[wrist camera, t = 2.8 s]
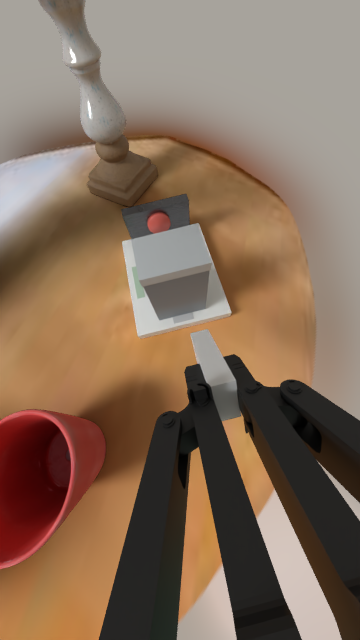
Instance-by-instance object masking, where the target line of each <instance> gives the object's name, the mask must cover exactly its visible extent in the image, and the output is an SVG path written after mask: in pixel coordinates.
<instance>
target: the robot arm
mask: <svg viewBox="0 0 360 640" xmlns="http://www.w3.org/2000/svg"><path fill="white" fill-rule="evenodd" d="M190 334H191V339H192V343H193V347H194V351H195V356H196V360H197V363H198V364H196V365H192V366H188V367H186V369H185V372H184V373H185V378H186V383H187V388H188V390H187V394H188V398H189V404H188V406H187V407H186V408H185V409H184V410H182V411H181V412H179V413H176V412H175V411H168V412H165V413H163V414H161V415H160V416H159V418H158V419H157V421H156V425H155V428H154V432H153V436H152V440H151V444H150V447H149V451H148V455H147V459H146V463H145V466H144V470H143V474H142V478H141V481H140V485H139V489H138V493H137V497H136V500H135V504H134V508H133V512H132V516H131V519H130V523H129V527H128V531H127V535H126V538H125V542H124V546H123V550H122V554H121V557H120V561H119V565H118V569H117V572H116V576H115V580H114V584H113V588H112V591H111V595H110V599H109V603H108V607H107V610H106V614H105V618H104V622H103V626H102V629H101V633H100V637H99V640H177V627H178V614H179V601H180V588H181V575H182V562H183V549H184V535H185V522H186V509H187V496H188V483H189V470H190V457H191V452H192V451H193V450H195V449H196V448H198V447H199V449H200V454H201V459H202V464H203V469H204V474H205V479H206V484H207V489H208V494H209V499H210V504H211V508H212V513H213V518H214V523H215V528H216V533H217V538H218V543H219V548H220V553H221V558H222V563H223V567H224V572H225V577H226V582H227V587H228V592H229V596H230V602H231V607H232V612H233V618H234V624H235V631H236V636H237V640H302V639H301V637H300V634H299V631H298V629H297V626H296V624H295V621H294V619H293V616H292V614H291V612H290V610H289V608H288V606H287V603H286V601H285V599H284V596H283V593H282V591H281V588H280V585H279V582H278V579H277V576H276V574H275V571H274V568H273V565H272V562H271V560H270V557H269V554H268V551H267V548H266V546H265V543H264V540H263V537H262V534H261V532H260V528H259V526H258V523H257V520H256V517H255V514H254V512H253V509H252V506H251V503H250V500H249V497H248V495H247V492H246V489H245V486H244V483H243V480H242V478H241V475H240V472H239V469H238V466H237V464H236V461H235V458H234V455H233V452H232V449H231V447H230V444H229V441H228V438H227V435H226V433H225V430H224V427H223V424H222V421H224V420H228V419H232V418H236V417H240V416H241V413H242V415H243V417H244V424H245V431H246V433H248V432H249V434H250V437H251V439H252V441H253V443H254V445H255V447H256V449H257V452H258V454H259V456H260V458H261V460H262V462H263V464H264V467H265V469H266V471H267V473H268V475H269V477H270V479H271V482H272V484H273V486H274V488H275V490H276V492H277V494H278V497H279V499H280V501H281V503H282V505H283V507H284V509H285V512H286V514H287V516H288V518H289V520H290V522H291V524H292V527H293V529H294V531H295V533H296V535H297V537H298V539H299V541H300V544H301V546H302V548H303V550H304V552H305V554H306V557H307V559H308V561H309V563H310V565H311V567H312V569H313V572H314V574H315V576H316V578H317V580H318V582H319V585H320V587H321V589H322V591H323V593H324V595H325V597H326V600H327V602H328V604H329V606H330V608H331V610H332V613H333V615H334V617H335V620H336V622H337V625H338V628H339V632H340V635H341V638H342V640H360V521H359V519H358V518H357V516H356V515H355V514H354V512H353V511H352V509H351V508H350V507H349V505H348V504H347V502H346V501H345V500H344V498H343V497H342V495H341V494H340V493H339V491H338V490H337V488H336V487H335V486H334V484H333V483H332V481H331V480H330V479H329V477H328V476H327V474H326V473H325V472H324V470H323V469H322V467H321V466H320V465H319V464H318V462H319V463H320V464H321V465H322V466H323V467H324V468H325V469H326V470H327V471H328V472H329V473H330V474H331V475H332V476H333V477H334V478H335V479H336V480H337V481H338V482H339V483H340V484H341V485H342V486H343V487H344V488H345V489H346V490H347V491H348V492H349V493H350V494H351V495H352V496H353V497H354V498H355V499H356V500H357V501H358V502H360V421H359V420H358V419H356V418H355V417H353V416H352V415H350V414H349V413H347V412H346V411H344V410H343V409H341V408H340V407H338V406H337V405H335V404H334V403H332V402H331V401H329V400H328V399H327V398H325V397H324V396H322V395H321V394H319V393H318V392H316V391H314V390H313V389H312V388H310V387H309V386H307V385H306V384H304V383H302V382H300V381H297V380H286V381H283V382H282V383H281V385H280V387H266V386H263V385H262V384H261V383H260V382H257V381H255V379H254V378H253V376H252V375H251V373H250V372H249V371H248V369H247V368H246V367H245V365H244V363H243V362H242V360H241V359H240V357H238V356H236V355H234V354H233V355H229V356H225V357H223V356H222V354H221V352H220V351H219V349H218V347H217V345H216V343H215V342H214V340H213V338H212V336H211V334H210V332H209V331H208V329H206V330H202V331H198V332H194V333H190ZM240 411H241V412H240ZM317 461H318V462H317Z"/></svg>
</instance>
